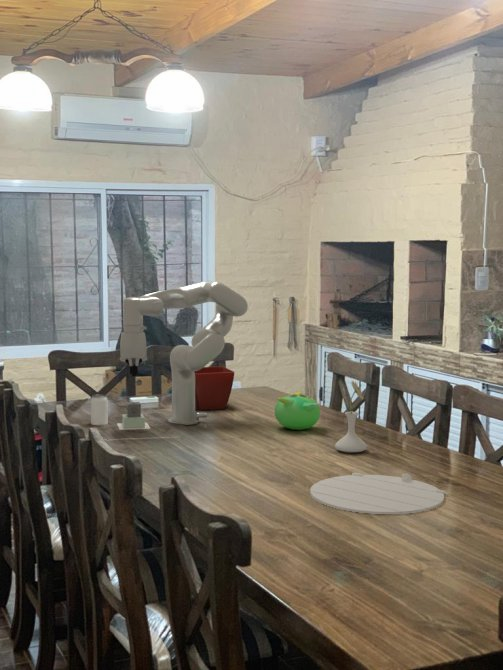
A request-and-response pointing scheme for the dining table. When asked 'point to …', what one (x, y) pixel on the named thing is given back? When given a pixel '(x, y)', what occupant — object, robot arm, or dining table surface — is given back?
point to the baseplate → (132, 428)
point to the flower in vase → (352, 429)
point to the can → (99, 410)
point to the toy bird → (297, 411)
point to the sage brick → (133, 421)
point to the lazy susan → (377, 494)
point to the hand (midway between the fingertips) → (133, 375)
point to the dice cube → (133, 409)
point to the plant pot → (213, 387)
